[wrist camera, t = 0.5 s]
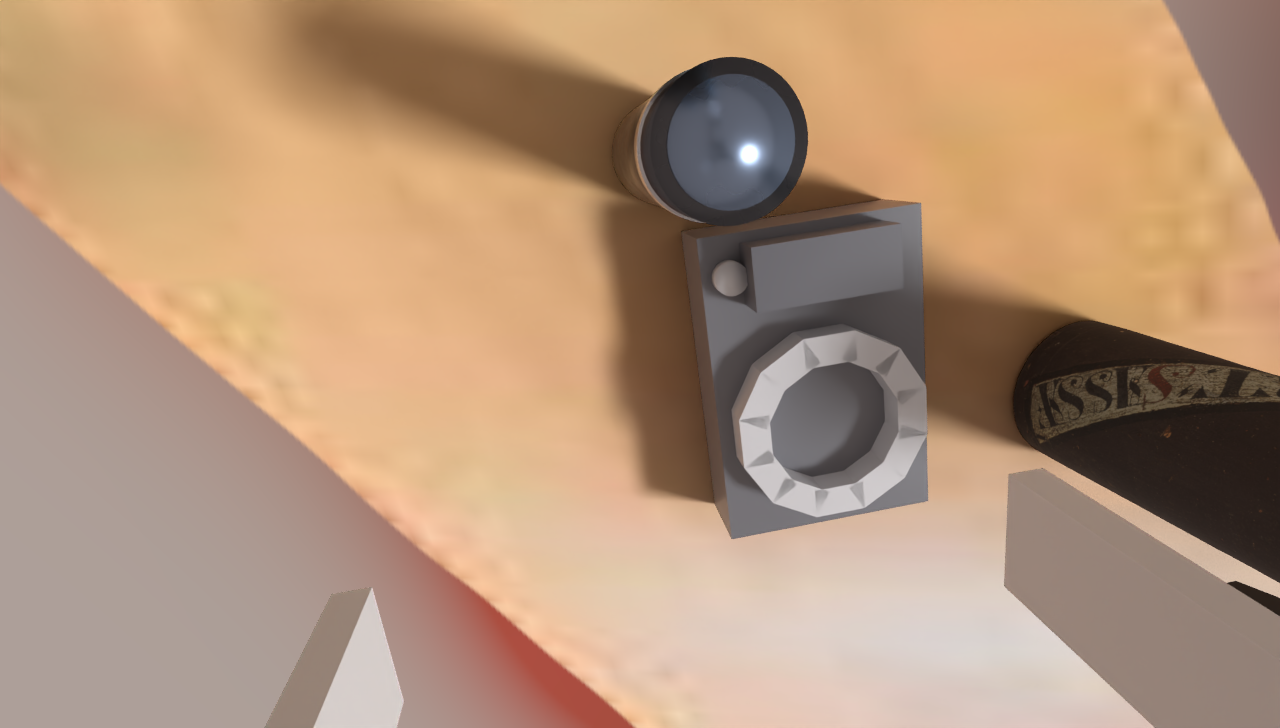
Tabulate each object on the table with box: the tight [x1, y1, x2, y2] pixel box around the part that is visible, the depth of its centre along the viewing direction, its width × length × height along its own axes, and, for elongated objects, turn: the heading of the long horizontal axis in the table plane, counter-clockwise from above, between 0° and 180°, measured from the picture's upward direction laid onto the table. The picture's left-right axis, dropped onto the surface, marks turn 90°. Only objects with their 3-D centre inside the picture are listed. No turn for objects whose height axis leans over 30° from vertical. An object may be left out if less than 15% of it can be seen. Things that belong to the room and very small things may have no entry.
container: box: [1014, 321, 1280, 583], centre depth 32 cm, size 9×9×20 cm
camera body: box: [681, 199, 928, 539], centre depth 36 cm, size 16×11×6 cm
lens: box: [612, 57, 808, 226], centre depth 28 cm, size 5×5×14 cm
